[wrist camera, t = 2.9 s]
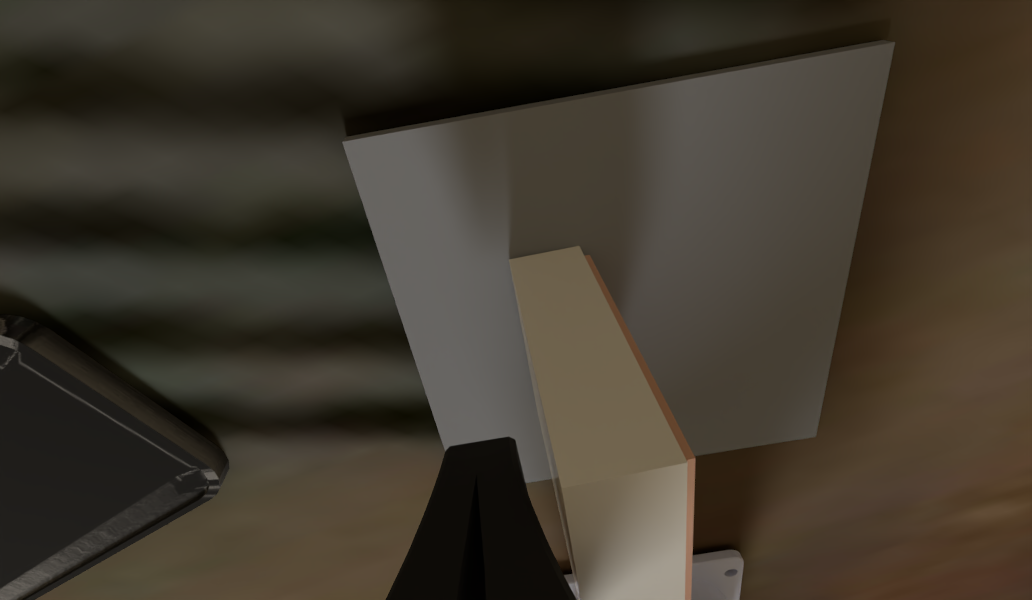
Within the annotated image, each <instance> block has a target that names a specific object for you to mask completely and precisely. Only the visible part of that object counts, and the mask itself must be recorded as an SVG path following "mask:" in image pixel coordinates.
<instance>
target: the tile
mask: <svg viewBox="0 0 1032 600" xmlns="http://www.w3.org/2000/svg"><path fill="white" fill-rule="evenodd" d="M509 264H510V269H511V274H512V280H513V285H514V290H515V296H516V301H517V306H518V312H519V317H520V322H521V327H522V333H523V338H524V343H525V349H526V354H527V359H528V365H529V370H530V375H531V380H532V386H533V391H534V396H535V402H536V407H537V411H538V416H539V421H540V425H541V430H542V434H543V439H544V444H545V448H546V453H547V457H548V462H549V467H550V471H551V476H552V481H553V485H554V490H555V494H556V499H557V504H558V508H559V513H560V517H561V522H562V527H563V531H564V536H565V540H566V545H567V550H568V554H569V559H570V564H571V568H572V573H573V577H574V582H575V587H576V591H577V596H578V600H691V588H692V556H693V523H694V491H695V456H694V454H693V453H692V451H691V449H690V447H689V445H688V443H687V441H686V439H685V437H684V435H683V433H682V431H681V429H680V428H679V426H678V424H677V422H676V420H675V418H674V416H673V414H672V412H671V410H670V408H669V406H668V404H667V403H666V401H665V399H664V397H663V395H662V393H661V391H660V389H659V387H658V385H657V383H656V381H655V379H654V378H653V376H652V374H651V372H650V370H649V368H648V366H647V364H646V362H645V360H644V358H643V356H642V354H641V353H640V351H639V349H638V347H637V345H636V343H635V341H634V339H633V337H632V335H631V333H630V331H629V329H628V328H627V326H626V324H625V322H624V320H623V318H622V316H621V314H620V312H619V310H618V308H617V306H616V305H615V303H614V301H613V299H612V297H611V295H610V293H609V291H608V289H607V287H606V285H605V283H604V281H603V280H602V278H601V276H600V274H599V272H598V270H597V268H596V266H595V264H594V262H593V260H592V258H591V256H590V255H585V256H584V254H583V252H582V250H581V248H580V246H575V247H570V248H565V249H560V250H555V251H550V252H545V253H540V254H534V255H529V256H524V257H519V258H514V259H509Z"/></svg>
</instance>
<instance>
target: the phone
mask: <svg viewBox="0 0 1032 600" xmlns="http://www.w3.org/2000/svg"><path fill="white" fill-rule="evenodd" d="M228 470H229V461H228V459H227V457H226V455H225V453H224V452H223V451H222V450H221V449H220V448H219V447H217V446H216V445H215V444H214V443H212V442H211V441H209V440H208V439H206V438H205V437H204V436H202V435H201V434H199V433H198V432H196V431H195V430H193V429H192V428H191V427H189V426H188V425H186V424H185V423H183V422H182V421H181V420H179V419H178V418H176V417H175V416H173V415H172V414H171V413H169V412H168V411H166V410H165V409H163V408H162V407H161V406H159V405H158V404H156V403H155V402H153V401H152V400H151V399H149V398H148V397H146V396H145V395H143V394H142V393H141V392H139V391H138V390H136V389H135V388H133V387H132V386H131V385H129V384H128V383H126V382H125V381H123V380H122V379H120V378H119V377H118V376H116V375H115V374H113V373H112V372H110V371H109V370H108V369H106V368H105V367H103V366H102V365H100V364H99V363H98V362H96V361H95V360H93V359H92V358H90V357H89V356H88V355H86V354H85V353H83V352H82V351H80V350H79V349H78V348H76V347H75V346H73V345H72V344H70V343H69V342H68V341H66V340H65V339H63V338H62V337H60V336H59V335H58V334H56V333H55V332H53V331H52V330H50V329H49V328H47V327H45V326H43V325H41V324H40V323H38V322H36V321H33V320H30V319H27V318H24V317H21V316H14V315H6V314H3V315H0V600H35V599H37V598H38V597H40V596H42V595H44V594H45V593H47V592H49V591H51V590H52V589H54V588H56V587H58V586H59V585H61V584H63V583H65V582H66V581H68V580H70V579H72V578H74V577H75V576H77V575H79V574H81V573H82V572H84V571H86V570H88V569H89V568H91V567H93V566H95V565H96V564H98V563H100V562H102V561H103V560H105V559H107V558H109V557H110V556H112V555H114V554H116V553H117V552H119V551H121V550H123V549H124V548H126V547H128V546H130V545H131V544H133V543H135V542H137V541H138V540H140V539H142V538H144V537H145V536H147V535H149V534H151V533H152V532H154V531H156V530H158V529H159V528H161V527H163V526H165V525H166V524H168V523H170V522H172V521H173V520H175V519H177V518H179V517H180V516H182V515H184V514H186V513H187V512H189V511H191V510H193V509H194V508H196V507H198V506H200V505H201V504H203V503H205V502H207V501H209V500H210V499H212V498H213V497H214V496H215V495H216V494H217V493H218V491H219V489H220V487H221V485H222V483H223V480H224V478H225V476H226V474H227V472H228Z"/></svg>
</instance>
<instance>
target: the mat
mask: <svg viewBox="0 0 1032 600" xmlns="http://www.w3.org/2000/svg"><path fill="white" fill-rule="evenodd" d="M894 46H895V42H892V41H886V40H880V41H874V42H869V43H863V44H858V45H852V46H846V47H841V48H835V49H830V50H824V51H819V52H813V53H808V54H802V55H797V56H791V57H786V58H780V59H774V60H769V61H763V62H758V63H752V64H747V65H741V66H736V67H730V68H725V69H719V70H714V71H708V72H702V73H697V74H691V75H686V76H680V77H675V78H669V79H664V80H658V81H653V82H647V83H642V84H636V85H630V86H625V87H619V88H614V89H608V90H603V91H597V92H592V93H586V94H581V95H575V96H570V97H564V98H558V99H553V100H547V101H542V102H536V103H531V104H525V105H520V106H514V107H509V108H503V109H498V110H492V111H486V112H481V113H475V114H470V115H464V116H459V117H453V118H448V119H442V120H437V121H431V122H426V123H420V124H414V125H409V126H403V127H398V128H392V129H387V130H381V131H376V132H370V133H365V134H359V135H354V136H348V137H345V139H344V140H343V141H342V143H343V146H344V149H345V152H346V155H347V158H348V161H349V164H350V167H351V170H352V173H353V176H354V179H355V182H356V185H357V188H358V191H359V194H360V197H361V200H362V203H363V206H364V209H365V212H366V215H367V218H368V221H369V224H370V227H371V230H372V233H373V236H374V239H375V242H376V245H377V248H378V251H379V254H380V257H381V260H382V263H383V266H384V269H385V272H386V275H387V278H388V281H389V284H390V287H391V290H392V293H393V296H394V299H395V302H396V305H397V308H398V311H399V314H400V317H401V320H402V323H403V326H404V329H405V332H406V335H407V338H408V341H409V344H410V347H411V350H412V353H413V356H414V359H415V362H416V365H417V368H418V371H419V374H420V377H421V380H422V383H423V386H424V389H425V392H426V395H427V398H428V401H429V404H430V407H431V410H432V413H433V416H434V419H435V422H436V425H437V428H438V431H439V434H440V437H441V440H442V443H443V446H444V449H445V451H446V450H447V449H448V448H449V447H450V446H454V445H460V444H466V443H472V442H478V441H484V440H490V439H496V438H502V437H508V436H509V437H511V438H513V439H515V440H516V445H517V449H518V453H519V458H520V462H521V466H522V470H523V475H524V479H525V483H529V482H535V481H542V480H548V479H552V476H551V471H550V467H549V462H548V457H547V453H546V448H545V444H544V439H543V434H542V430H541V425H540V421H539V416H538V411H537V407H536V402H535V396H534V391H533V386H532V380H531V375H530V370H529V365H528V359H527V354H526V349H525V343H524V338H523V333H522V327H521V322H520V317H519V312H518V306H517V301H516V296H515V290H514V285H513V280H512V274H511V269H510V264H509V259H514V258H519V257H524V256H529V255H534V254H540V253H545V252H550V251H555V250H560V249H565V248H570V247H575V246H580V248H581V250H582V252H583V254H584V256H585V255H590V256H591V258H592V260H593V262H594V264H595V266H596V268H597V270H598V272H599V274H600V276H601V278H602V280H603V281H604V283H605V285H606V287H607V289H608V291H609V293H610V295H611V297H612V299H613V301H614V303H615V305H616V306H617V308H618V310H619V312H620V314H621V316H622V318H623V320H624V322H625V324H626V326H627V328H628V329H629V331H630V333H631V335H632V337H633V339H634V341H635V343H636V345H637V347H638V349H639V351H640V353H641V354H642V356H643V358H644V360H645V362H646V364H647V366H648V368H649V370H650V372H651V374H652V376H653V378H654V379H655V381H656V383H657V385H658V387H659V389H660V391H661V393H662V395H663V397H664V399H665V401H666V403H667V404H668V406H669V408H670V410H671V412H672V414H673V416H674V418H675V420H676V422H677V424H678V426H679V428H680V429H681V431H682V433H683V435H684V437H685V439H686V441H687V443H688V445H689V447H690V449H691V451H692V453H693V454H694V456H699V455H705V454H711V453H717V452H724V451H730V450H736V449H742V448H749V447H755V446H761V445H768V444H774V443H780V442H786V441H793V440H799V439H805V438H811V437H816V434H817V429H818V424H819V419H820V414H821V409H822V404H823V399H824V394H825V389H826V384H827V379H828V374H829V369H830V364H831V359H832V354H833V349H834V344H835V339H836V334H837V329H838V324H839V319H840V314H841V309H842V304H843V299H844V294H845V289H846V284H847V279H848V274H849V269H850V265H851V260H852V255H853V250H854V245H855V240H856V235H857V230H858V225H859V220H860V215H861V210H862V205H863V200H864V195H865V190H866V185H867V180H868V175H869V170H870V165H871V160H872V155H873V150H874V145H875V140H876V135H877V130H878V125H879V120H880V115H881V110H882V105H883V100H884V95H885V90H886V86H887V81H888V76H889V71H890V66H891V61H892V56H893V51H894Z"/></svg>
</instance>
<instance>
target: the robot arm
mask: <svg viewBox="0 0 1032 600" xmlns="http://www.w3.org/2000/svg"><path fill="white" fill-rule="evenodd" d="M743 566H744V561H743V558H742V556H741V554H740V552H738V551H736V550H723V551H717V552H710V553H704V554H697V555H693V556H692V588H691V600H739V599H740V591H741V583H742V574H743ZM386 600H578V596H577V591H576V587H575V582H574V577H573V574H567V575H563V573H562V571H561V569H560V566H559V564H558V562H557V560H556V558H555V556H554V554H553V552H552V550H551V548H550V546H549V544H548V542H547V539H546V537H545V535H544V533H543V530H542V528H541V525H540V523H539V521H538V518H537V516H536V514H535V511H534V509H533V506H532V504H531V501H530V498H529V496H528V492H527V487H526V483H525V479H524V475H523V470H522V466H521V462H520V458H519V453H518V449H517V445H516V440H515V439H513V438H511V437H509V436H508V437H502V438H496V439H490V440H484V441H478V442H472V443H466V444H460V445H454V446H450V447H449V448H448V449H447V450H446V451H445V455H444V458H443V462H442V465H441V468H440V471H439V474H438V477H437V480H436V483H435V486H434V489H433V492H432V494H431V497H430V500H429V503H428V505H427V508H426V511H425V513H424V515H423V518H422V520H421V523H420V525H419V528H418V530H417V532H416V535H415V537H414V540H413V542H412V545H411V547H410V549H409V551H408V554H407V556H406V558H405V560H404V562H403V564H402V567H401V569H400V571H399V573H398V575H397V577H396V579H395V581H394V583H393V586H392V588H391V590H390V592H389V594H388V596H387V598H386Z"/></svg>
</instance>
